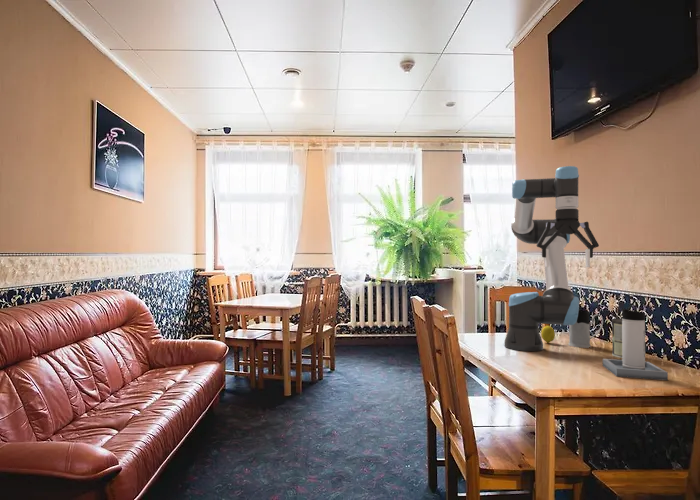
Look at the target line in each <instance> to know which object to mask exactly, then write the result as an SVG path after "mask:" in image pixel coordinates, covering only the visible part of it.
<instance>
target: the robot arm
mask: <svg viewBox="0 0 700 500" xmlns="http://www.w3.org/2000/svg"><path fill="white" fill-rule="evenodd" d="M579 177H580V174H579V168H578V167H577V166H575V165H568V166H566V165H565V166H560V167H558V168H556V170H555V175H554V177H551V178H550V177H549V178H548V177H547V178H532V179H531V178H527V179H524V178H523V179H516V180H513V182H512V187H511V197H512V198H513V199H515V210H514V218H513V219H512V221H511V228H510V229H511V231H512V233H513V235H514V236H515V237H516V238H517V239H518V240H520V241H521V242H523V243H526V244H529V245H530V244H531V245H536V247H537V248H539V249H541V258H543V265H544V266H543V267H544V278H545V290H544V291H543V293H542V295H540V294H539V292H538V291H532V292H531V291H527V292H525V291H524V292H517V293H512V294H510V295H509V299H508V330H507V333H506V336H505V339H504V343H503V344H504V347H505V348H507V349H510V350H516V351H522V352H540V351H543V350H544V342H543V338H542V336H541V332H540V329H539V325H540V324H542V325H543V324H544V325H559V326H569V325H574V324H575V323H576V321H577V318H578V311H579V310H580V299H579V297H578V296H574V292H573V291H572V290H571V289H570V288H569V281H568V272H567V264H566V255H565V248H566V247H567V244H569V243H570V240H571V235H574V236H575V237H577V239H579V241H581V243H583V246H585V247H586V249H585V255H584V256H585V257H584V258H585V260H584V261H585V265H584V266H585V268H590V267H591V259H593V257H594V249H595V248H599V246H600V245H599V242H598V241H597V239H596V238H595V236H594V233H593V232H592V230H591V228H590V225H589V222H588V221H584V222H580V221H579V219H580V218H579V215H580V214H579V211H580V210H579V209H578V208H579ZM545 198H547V199H548V198H550V199H551V198H555V209H556V210H555V218H554V219H534V218H533V217H534V211H535V207H536V200H537V199H545ZM579 227H581V229H583V230H584V232H585V234H586V236H587V238H588V239H587V238H586V237H585V236H584V235H583V234H582V233H581V232H580V230H578V229H579Z"/></svg>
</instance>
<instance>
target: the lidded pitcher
mask: <svg viewBox="0 0 700 500" xmlns="http://www.w3.org/2000/svg"><path fill="white" fill-rule="evenodd" d="M597 316H600V317H601V325H600V327H599V329H598V330H597V331H596V333H595V334H592V335H591V336H590V334H591V333H590V332H591V328H590V327H591V326H590V325H592V324H594V319H595V317H597ZM603 325H604V318H603V316H602V314H594V315H593V316H592V318H591V323H590V311H588V310H580V309H579V311H578V318H577V321H576V323H575V324H574V325H568V327H569V328H568V331H569V333H568V335H569V338H568V339H569V340H568V344H567V345H568V346H569V347H573V348H581V349H582V348H583V349H584V348H585V349H586V348H587V349H589V347H590V348H591V347H592V345H591V344H590V342H591V340H592V338H594V337H595V336H597V335H598V334H599V333H600V332H601V330H602V329H603Z"/></svg>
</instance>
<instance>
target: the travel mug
mask: <svg viewBox="0 0 700 500" xmlns="http://www.w3.org/2000/svg"><path fill="white" fill-rule="evenodd" d="M621 315H622V318H621V319H622V320H623V321H622V358H621V360H622V363H623V364H622V368H626V369H640V370H645V362H646V323H645V321H646V320H645V319H646V318H645V315H646V313H645V312H641V311H638V310H636V311H635V310H630V309H625V308H621Z"/></svg>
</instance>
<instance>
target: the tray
mask: <svg viewBox="0 0 700 500" xmlns="http://www.w3.org/2000/svg"><path fill="white" fill-rule="evenodd" d="M622 364H623V363H622V359H615V358H614V359H613V358H611V359H610V358H602V367H603V368H605V369H606V370H607V371H609V372H610V373H611V374H613V375H614V376H615V377H617V378H619V377H620V378H630V379H631V378H632V379H643V378H644V380H645V379H646V380H657V381H658V380H660V381H669V378H668V377H669V374H668V371H666V370H664V369H662V368H661V367H659V366H657V365H655V364H654V363H652V362H650V361H645V370H640V369H626V368H622Z"/></svg>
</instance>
